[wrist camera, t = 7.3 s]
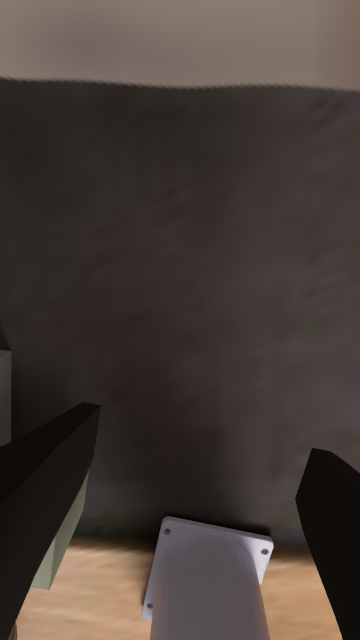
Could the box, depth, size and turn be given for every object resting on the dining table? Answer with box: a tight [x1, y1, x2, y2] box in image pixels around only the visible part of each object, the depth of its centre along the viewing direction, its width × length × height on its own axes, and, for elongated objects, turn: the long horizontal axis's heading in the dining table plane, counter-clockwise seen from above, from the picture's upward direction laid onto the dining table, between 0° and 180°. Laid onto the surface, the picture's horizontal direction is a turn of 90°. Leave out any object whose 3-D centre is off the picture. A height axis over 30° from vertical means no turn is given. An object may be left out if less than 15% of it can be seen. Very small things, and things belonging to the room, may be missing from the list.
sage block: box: [31, 470, 89, 590], centre depth 19 cm, size 4×4×6 cm
